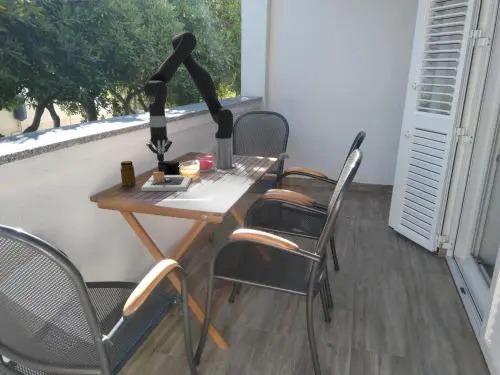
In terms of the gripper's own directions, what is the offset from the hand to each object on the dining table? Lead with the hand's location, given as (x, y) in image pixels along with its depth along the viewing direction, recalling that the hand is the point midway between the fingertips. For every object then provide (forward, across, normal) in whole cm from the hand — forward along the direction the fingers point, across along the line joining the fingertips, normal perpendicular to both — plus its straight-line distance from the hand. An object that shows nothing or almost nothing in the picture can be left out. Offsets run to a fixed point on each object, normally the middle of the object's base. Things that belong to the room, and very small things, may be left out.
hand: (160, 161), depth 170 cm
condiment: (+12, +14, -6) cm, 19 cm away
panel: (+11, 0, +6) cm, 12 cm away
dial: (+10, 0, +6) cm, 12 cm away
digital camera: (+11, -10, -12) cm, 20 cm away
